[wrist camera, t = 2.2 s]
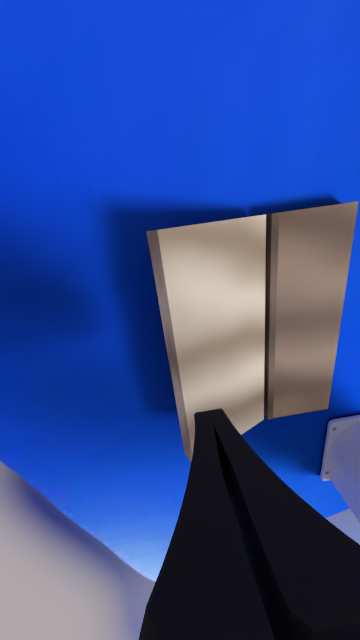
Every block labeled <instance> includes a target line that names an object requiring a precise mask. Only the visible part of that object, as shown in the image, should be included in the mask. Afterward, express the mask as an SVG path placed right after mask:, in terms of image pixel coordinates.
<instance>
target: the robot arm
mask: <svg viewBox="0 0 360 640" xmlns="http://www.w3.org/2000/svg"><path fill="white" fill-rule="evenodd" d="M194 419H195V437H194V447H193V455H192V461H191V467H190V473H189V478H188V482H187V487H186V491H185V495H184V499H183V503H182V506H181V510H180V514H179V517H178V521H177V524H176V527H175V530H174V533H173V536H172V539H171V542H170V545H169V548H168V551H167V554H166V557H165V559H164V562H163V565H162V568H161V570H160V573H159V575H158V578H157V580H156V583H155V585H154V588H153V591H152V593H151V596H150V598H149V601H148V603H147V606H146V610H145V615H144V619H143V623H142V627H141V632H140V637H139V640H360V545H359V544H358V543H357V542H355V541H354V540H352V539H351V538H350V537H348V536H347V535H346V534H344V533H343V532H342V531H341V530H339V529H338V528H336V526H334V525H333V524H332V523H330V522H329V521H328V520H327V519H325V518H324V517H323V516H322V515H321V514H319V513H318V512H317V511H316V510H315V509H314V508H312V507H311V506H310V505H309V504H308V503H306V502H305V501H304V500H303V499H302V498H300V497H299V496H298V495H297V494H296V493H295V492H294V491H293V490H292V489H291V488H290V487H288V486H287V485H286V484H285V483H284V482H283V481H282V480H281V479H280V478H279V477H278V476H277V475H276V474H275V473H274V472H273V471H272V470H271V469H270V468H269V467H268V466H267V465H266V464H265V463H264V461H263V460H262V459H261V458H260V457H259V456H258V455H257V454H256V453H255V451H254V450H253V449H252V448H251V447H250V446H249V444H248V443H247V442H246V441H245V439H244V438H243V437H242V436H241V434H240V433H239V432H238V431H237V429H236V428H235V427H234V425H233V424H232V422H231V421H230V419H229V418H228V416H227V415H226V413H225V412H224V410H223V409H221V408H220V409H214V410H208V411H202V412H196V413H195V414H194ZM320 477H321V479H322V480H323V481H328V480H331V481H332V483H333V484H334V486H335V487H336V489H337V490H338V492H339V493H340V495H341V496H342V498H343V499H344V500H345V502H346V503H347V505H348V506H349V508H350V509H351V511H352V512H353V514H354V515H355V517H356V518H357V519H358V521H359V522H360V415H355V416H349V417H344V418H338V419H332V420H330V421H329V423H328V428H327V435H326V442H325V448H324V455H323V461H322V468H321V475H320Z"/></svg>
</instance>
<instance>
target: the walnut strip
mask: <svg viewBox="0 0 360 640" xmlns="http://www.w3.org/2000/svg"><path fill="white" fill-rule="evenodd" d="M357 208H358V201H357V202H350V203H342V204H335V205H328V206H321V207H314V208H306V209H299V210H292V211H285V212H278V213H271V214H266V270H265V360H264V414H265V416H266V418H267V419H268V420H271V419H273V418H277V417H283V416H289V415H295V414H301V413H307V412H313V411H319V410H324V409H328V406H329V399H330V393H331V386H332V379H333V372H334V365H335V358H336V352H337V345H338V338H339V331H340V324H341V318H342V311H343V304H344V297H345V290H346V283H347V277H348V270H349V263H350V256H351V249H352V242H353V236H354V229H355V222H356V215H357ZM264 215H265V214H264Z"/></svg>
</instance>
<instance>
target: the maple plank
mask: <svg viewBox="0 0 360 640" xmlns="http://www.w3.org/2000/svg"><path fill="white" fill-rule="evenodd" d="M146 232H147V238H148V244H149V250H150V255H151V261H152V267H153V273H154V279H155V284H156V290H157V296H158V302H159V308H160V313H161V319H162V325H163V331H164V337H165V342H166V348H167V354H168V360H169V366H170V371H171V377H172V383H173V389H174V395H175V400H176V406H177V412H178V418H179V424H180V429H181V435H182V441H183V447H184V453H185V454H186V456H187V457H188V459H189V460H190V461H192V455H193V447H194V437H195V419H194V414H195V413H196V412H202V411H208V410H214V409H220V408H221V409H223V410H224V412H225V413H226V415H227V416H228V418H229V419H230V421H231V422H232V424H233V425H234V427H235V428H236V429H237V431H238V432H239V433H240V434H241V435H242V434H243V433H245V432H246V431H248V430H249V429H251V428H252V427H254V426H255V425H257V424H258V423H260V422H261V421H263V420H264V360H265V270H266V214H265V215H257V216H249V217H242V218H235V219H229V220H222V221H215V222H208V223H201V224H194V225H187V226H180V227H173V228H166V229H159V230H152V231H146Z"/></svg>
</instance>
